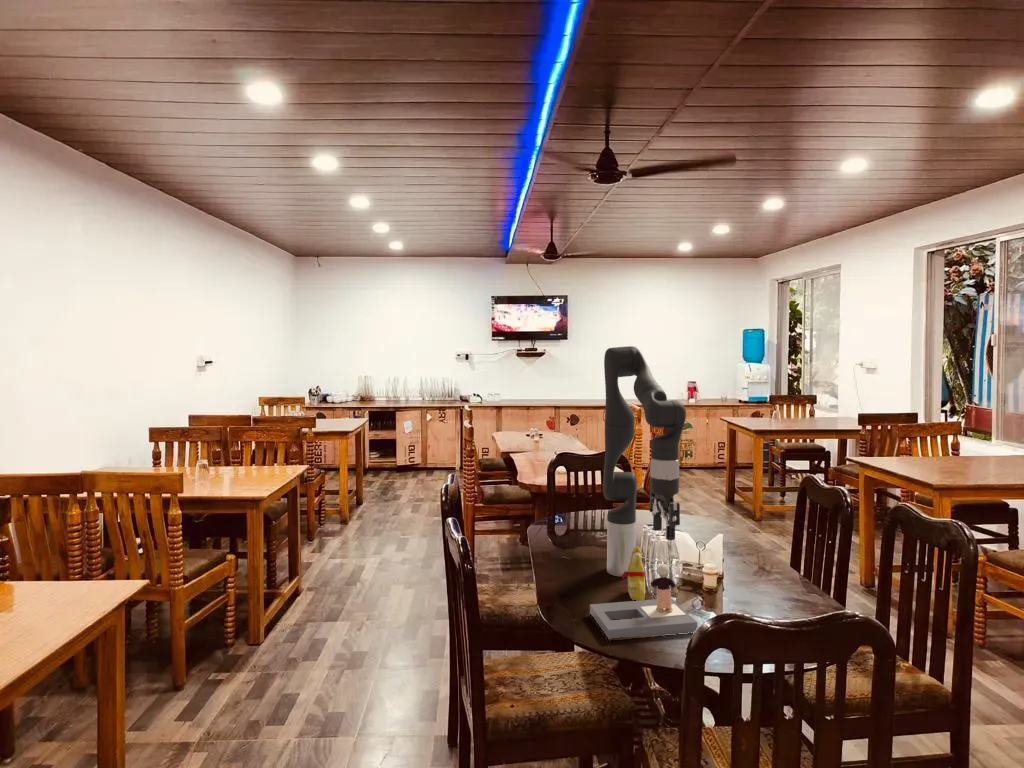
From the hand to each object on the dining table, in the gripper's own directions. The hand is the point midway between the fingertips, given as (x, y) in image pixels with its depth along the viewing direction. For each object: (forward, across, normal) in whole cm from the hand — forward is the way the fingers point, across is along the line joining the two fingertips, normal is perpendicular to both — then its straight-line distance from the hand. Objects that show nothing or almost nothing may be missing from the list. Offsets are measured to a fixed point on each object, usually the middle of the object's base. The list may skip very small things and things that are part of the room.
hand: (663, 534), depth 172 cm
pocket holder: (+24, 0, -6) cm, 25 cm away
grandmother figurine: (+21, 0, 0) cm, 21 cm away
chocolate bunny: (+24, -19, -1) cm, 31 cm away
